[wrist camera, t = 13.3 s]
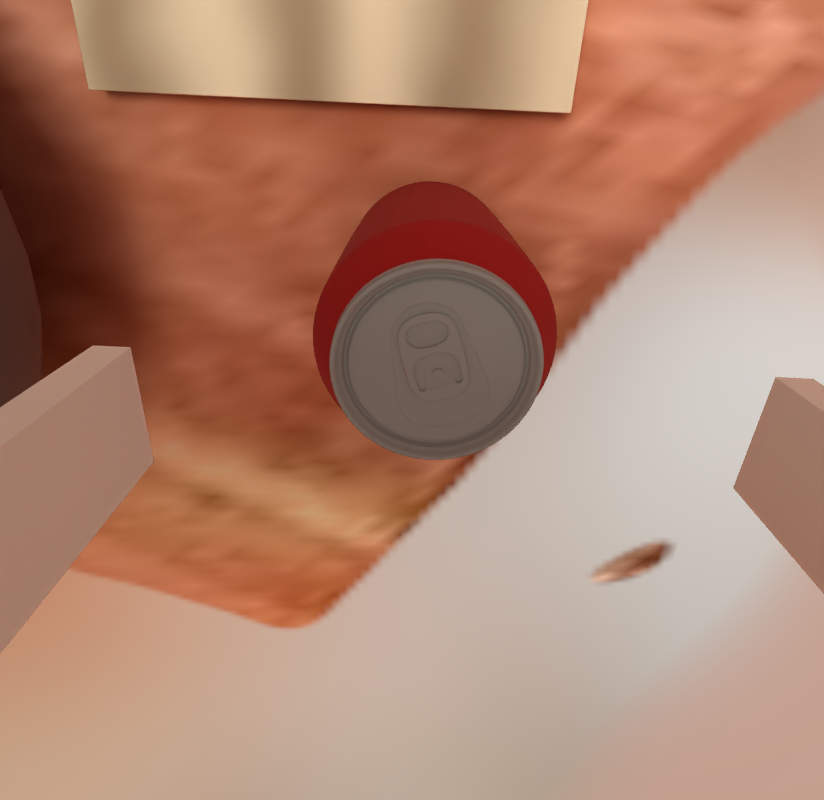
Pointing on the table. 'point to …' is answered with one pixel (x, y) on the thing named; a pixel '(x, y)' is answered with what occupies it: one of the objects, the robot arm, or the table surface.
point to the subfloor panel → (339, 50)
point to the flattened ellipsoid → (17, 314)
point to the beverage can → (434, 325)
